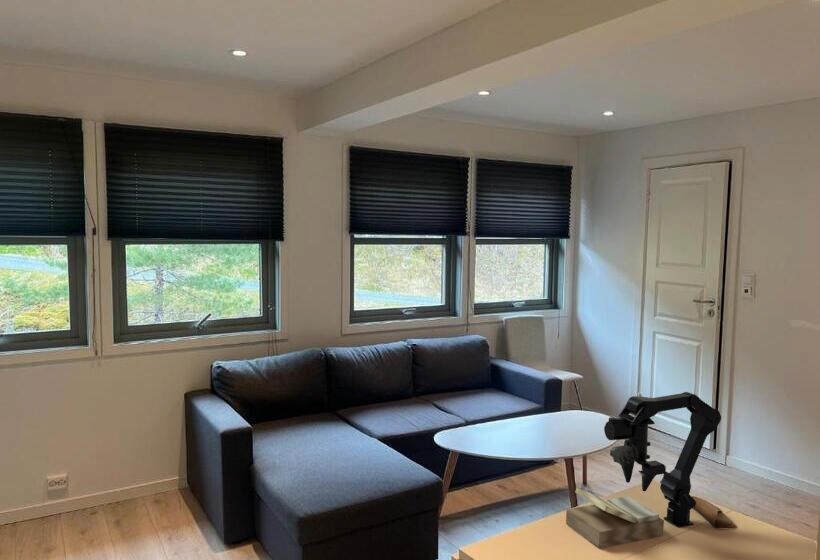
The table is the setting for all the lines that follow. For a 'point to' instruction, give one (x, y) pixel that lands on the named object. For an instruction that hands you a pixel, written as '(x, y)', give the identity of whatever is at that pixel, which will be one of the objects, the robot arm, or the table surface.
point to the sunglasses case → (713, 514)
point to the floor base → (615, 523)
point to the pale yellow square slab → (606, 505)
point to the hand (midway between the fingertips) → (635, 486)
